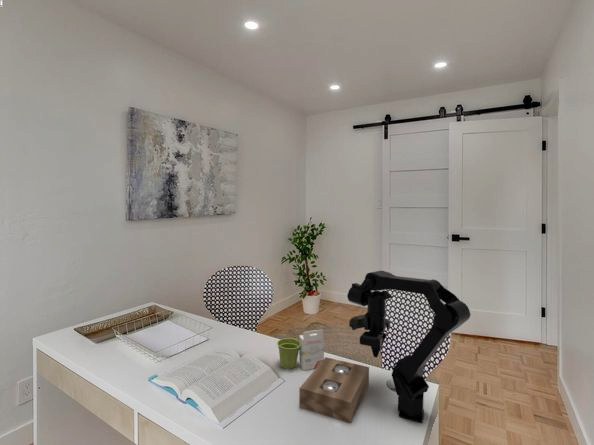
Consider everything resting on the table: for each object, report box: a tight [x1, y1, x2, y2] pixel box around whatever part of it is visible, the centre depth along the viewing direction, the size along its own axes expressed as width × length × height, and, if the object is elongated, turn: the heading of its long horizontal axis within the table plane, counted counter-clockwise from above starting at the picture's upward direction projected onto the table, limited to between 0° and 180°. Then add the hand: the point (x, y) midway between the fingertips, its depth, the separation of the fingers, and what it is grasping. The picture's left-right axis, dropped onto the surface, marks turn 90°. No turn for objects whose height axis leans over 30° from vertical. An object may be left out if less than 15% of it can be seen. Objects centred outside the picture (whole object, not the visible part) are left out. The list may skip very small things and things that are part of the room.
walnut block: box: [298, 356, 370, 424], centre depth 102 cm, size 16×22×6 cm
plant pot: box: [276, 337, 301, 370], centre depth 121 cm, size 9×9×9 cm
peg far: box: [335, 366, 349, 375], centre depth 107 cm, size 5×5×6 cm
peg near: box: [323, 381, 338, 392], centre depth 97 cm, size 5×5×6 cm
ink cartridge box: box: [298, 329, 325, 371], centre depth 121 cm, size 9×5×15 cm, turn 108°
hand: (375, 356), depth 103 cm, fingers closed
